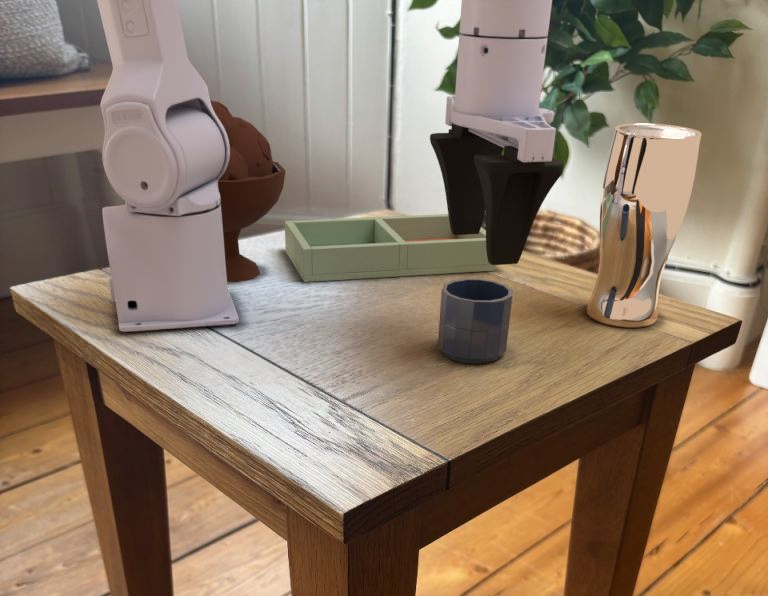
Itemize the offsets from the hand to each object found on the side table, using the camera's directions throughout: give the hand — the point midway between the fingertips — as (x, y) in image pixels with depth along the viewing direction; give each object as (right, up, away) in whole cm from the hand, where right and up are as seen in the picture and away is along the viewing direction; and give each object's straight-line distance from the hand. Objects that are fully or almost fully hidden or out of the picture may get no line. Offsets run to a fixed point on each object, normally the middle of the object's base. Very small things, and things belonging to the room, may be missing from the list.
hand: (483, 247), depth 60 cm
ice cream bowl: (-22, +3, +18) cm, 29 cm away
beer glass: (+14, -2, +12) cm, 18 cm away
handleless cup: (0, -7, +4) cm, 8 cm away
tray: (-7, +6, +23) cm, 24 cm away
